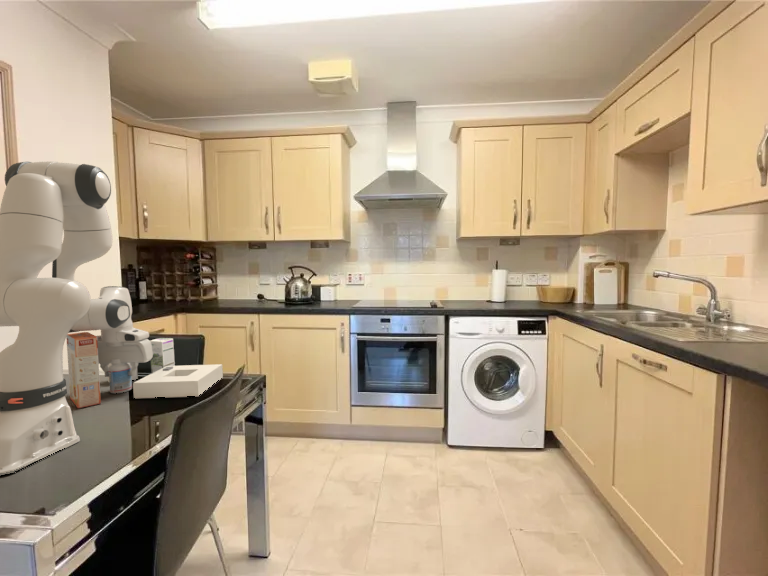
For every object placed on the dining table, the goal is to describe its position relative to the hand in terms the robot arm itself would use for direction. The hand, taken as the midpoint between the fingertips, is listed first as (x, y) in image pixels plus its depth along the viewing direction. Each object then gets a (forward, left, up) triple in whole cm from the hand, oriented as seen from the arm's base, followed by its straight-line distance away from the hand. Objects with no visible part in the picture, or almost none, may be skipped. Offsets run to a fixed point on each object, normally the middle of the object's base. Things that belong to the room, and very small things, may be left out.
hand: (120, 375), depth 126 cm
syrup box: (+15, -6, -5) cm, 17 cm away
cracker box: (-9, +5, -5) cm, 12 cm away
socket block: (+2, -19, -5) cm, 20 cm away
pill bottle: (0, 0, -5) cm, 5 cm away
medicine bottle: (+12, +7, -5) cm, 15 cm away
